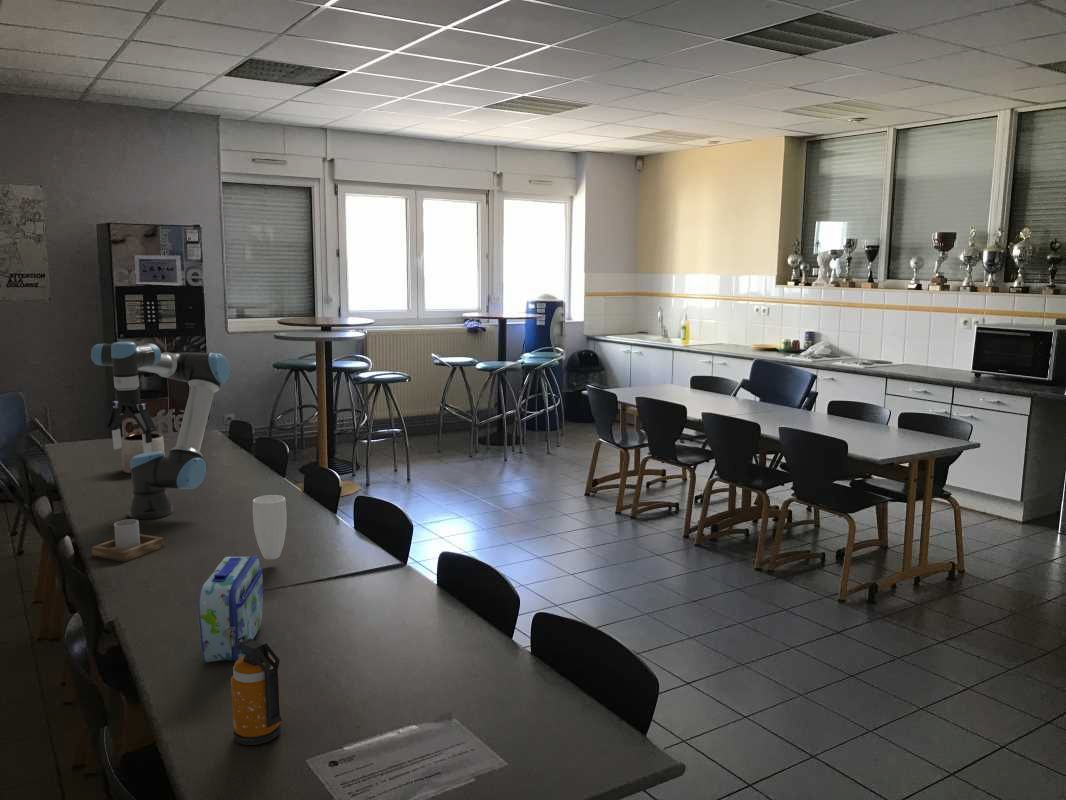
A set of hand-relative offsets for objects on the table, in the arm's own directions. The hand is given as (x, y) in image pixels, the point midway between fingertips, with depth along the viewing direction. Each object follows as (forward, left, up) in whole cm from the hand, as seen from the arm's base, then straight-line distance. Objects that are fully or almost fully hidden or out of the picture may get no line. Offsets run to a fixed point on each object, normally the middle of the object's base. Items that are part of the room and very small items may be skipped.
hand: (132, 450), depth 287 cm
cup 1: (+11, +8, -30) cm, 33 cm away
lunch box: (+52, +89, -31) cm, 108 cm away
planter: (-71, -76, -31) cm, 108 cm away
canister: (+82, +123, -31) cm, 151 cm away
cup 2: (+4, +60, -31) cm, 68 cm away
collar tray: (+12, +8, -31) cm, 34 cm away
